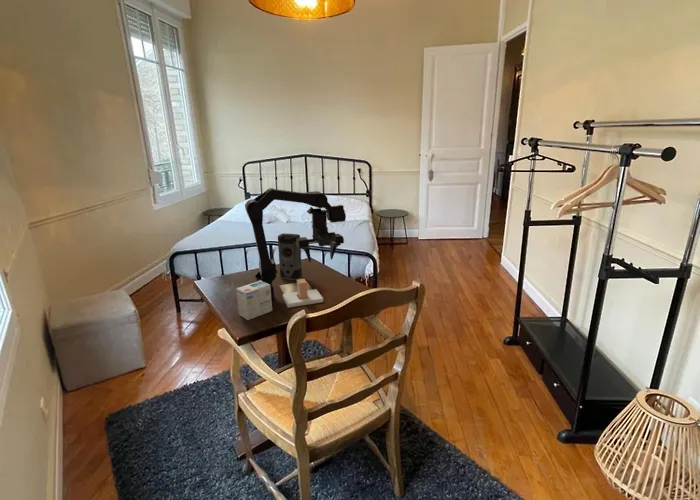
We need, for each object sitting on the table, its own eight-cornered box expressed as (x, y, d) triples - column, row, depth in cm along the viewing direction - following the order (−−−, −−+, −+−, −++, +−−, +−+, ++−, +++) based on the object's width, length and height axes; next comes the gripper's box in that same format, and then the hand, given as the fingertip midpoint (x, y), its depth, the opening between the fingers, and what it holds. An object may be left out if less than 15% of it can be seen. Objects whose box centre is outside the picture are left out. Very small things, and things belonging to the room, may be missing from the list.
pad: (284, 295, 157) (284, 293, 156) (279, 286, 166) (279, 285, 165) (312, 291, 161) (312, 289, 160) (306, 282, 170) (306, 281, 169)
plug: (300, 302, 150) (299, 283, 148) (297, 298, 154) (296, 279, 151) (307, 301, 151) (306, 282, 148) (305, 297, 155) (304, 278, 152)
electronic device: (279, 278, 175) (276, 236, 169) (284, 274, 180) (282, 233, 174) (297, 280, 172) (295, 237, 166) (303, 276, 177) (301, 234, 172)
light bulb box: (262, 305, 147) (260, 279, 144) (273, 311, 143) (271, 284, 140) (237, 315, 140) (235, 287, 137) (248, 320, 136) (245, 292, 132)
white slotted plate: (287, 307, 145) (287, 304, 145) (282, 297, 154) (282, 294, 154) (323, 301, 150) (323, 298, 150) (316, 292, 159) (316, 289, 159)
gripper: (301, 230, 143) (303, 269, 148) (348, 225, 149) (348, 263, 154) (294, 224, 153) (296, 261, 158) (339, 220, 159) (339, 255, 164)
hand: (320, 260), depth 158 cm, fingers open, 9 cm apart
